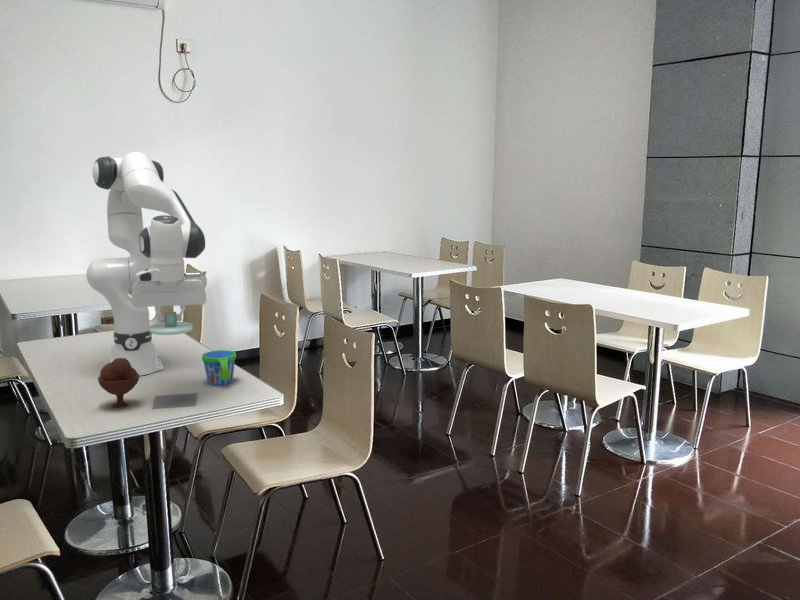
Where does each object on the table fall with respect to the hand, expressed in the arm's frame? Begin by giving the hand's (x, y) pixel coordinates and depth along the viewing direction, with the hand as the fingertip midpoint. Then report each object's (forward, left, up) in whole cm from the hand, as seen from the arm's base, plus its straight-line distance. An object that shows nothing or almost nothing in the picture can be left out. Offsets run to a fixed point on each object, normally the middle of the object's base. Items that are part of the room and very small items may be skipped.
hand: (170, 320), depth 200 cm
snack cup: (-16, +13, -25) cm, 32 cm away
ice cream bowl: (+1, -15, -25) cm, 29 cm away
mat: (0, 0, -25) cm, 25 cm away
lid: (0, 0, -3) cm, 3 cm away
